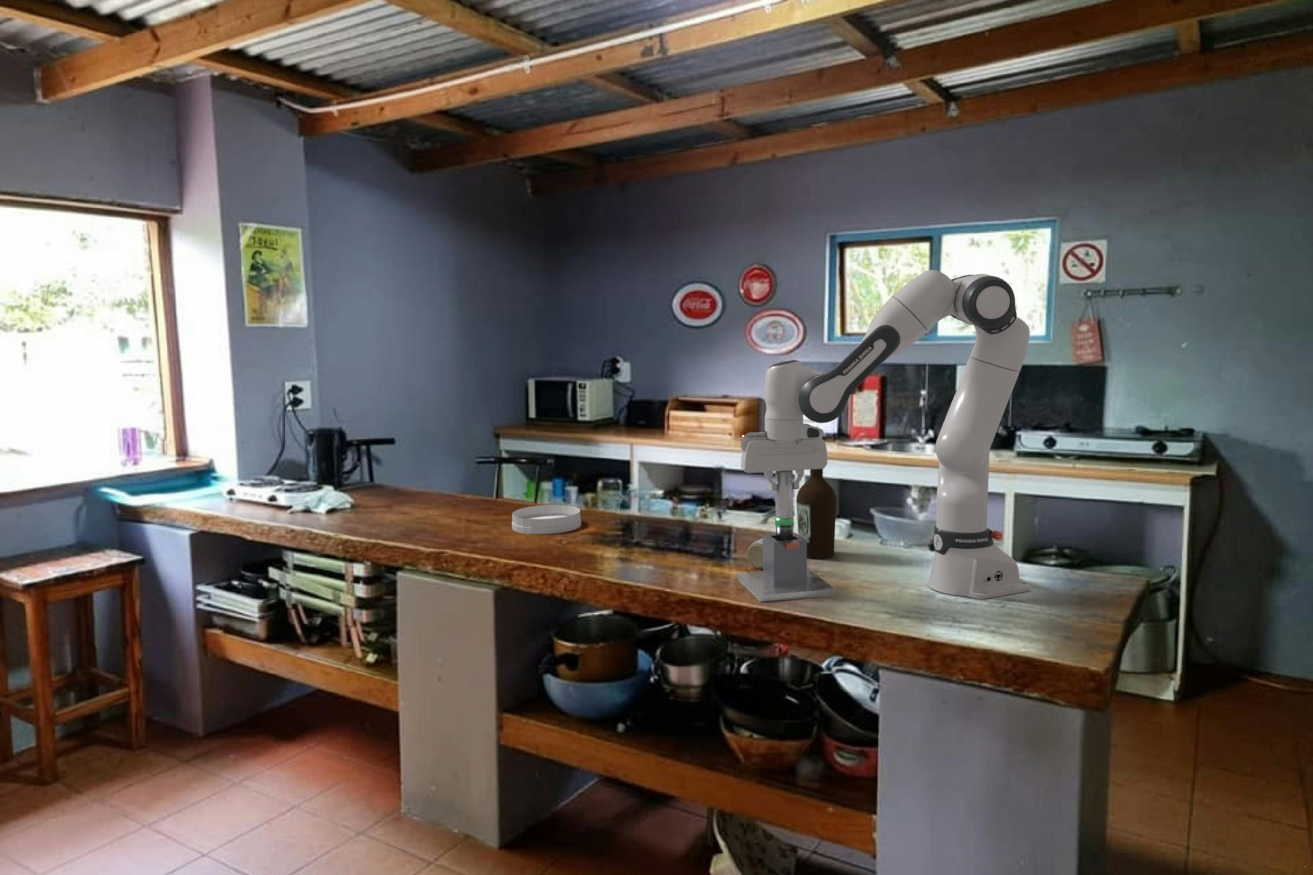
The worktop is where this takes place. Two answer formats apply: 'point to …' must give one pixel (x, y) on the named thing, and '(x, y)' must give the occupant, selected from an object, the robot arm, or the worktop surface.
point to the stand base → (785, 572)
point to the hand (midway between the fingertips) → (784, 489)
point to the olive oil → (817, 515)
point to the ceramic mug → (756, 554)
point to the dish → (546, 519)
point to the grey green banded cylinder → (784, 505)
